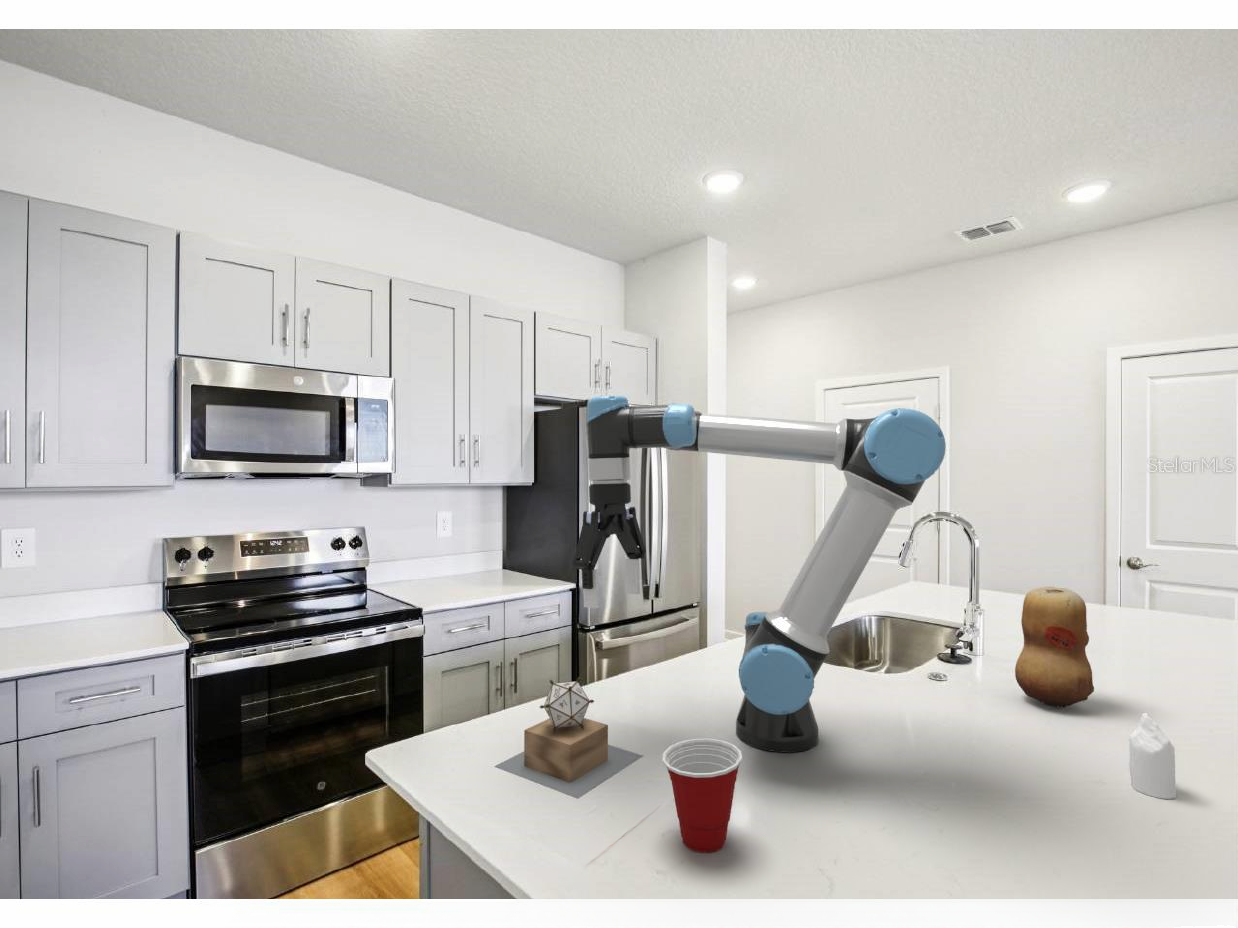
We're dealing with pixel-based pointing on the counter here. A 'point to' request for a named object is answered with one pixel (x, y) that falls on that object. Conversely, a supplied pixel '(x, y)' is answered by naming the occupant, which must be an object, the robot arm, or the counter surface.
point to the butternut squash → (1054, 648)
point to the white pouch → (1152, 760)
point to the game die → (566, 704)
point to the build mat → (583, 784)
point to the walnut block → (566, 748)
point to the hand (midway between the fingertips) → (613, 600)
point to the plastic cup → (703, 789)
